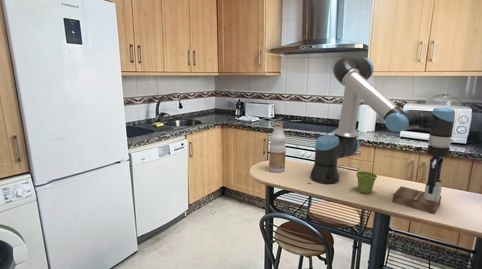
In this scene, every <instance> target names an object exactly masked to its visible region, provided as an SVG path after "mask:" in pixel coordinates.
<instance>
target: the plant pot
mask: <svg viewBox="0 0 482 269" xmlns="http://www.w3.org/2000/svg"><path fill="white" fill-rule="evenodd" d="M355 174H356V178H357V191H358V192H360V193H362V194H371V193H372V192H373V189H374V188H373V187H374V184H375V181H376V179H377V178H378V175H377V174H376V173H374V172H370V171H367V170H366V171H365V170H364V171H363V170H359V171H357V172H356V173H355Z"/></svg>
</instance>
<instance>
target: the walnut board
mask: <svg viewBox="0 0 482 269" xmlns="http://www.w3.org/2000/svg"><path fill="white" fill-rule="evenodd" d="M424 193H425V191H423V190H417V189H414V188H410V187H406V186H400V187H399V188H398V189H396V190H395V192H393V193H392V194H393V195H392V203H394V204H397V205H401V206H405V207H409V208H410V209H411V208H412V209H416V210H418V211H422V212H426V213H429V214H432V215H436V212H437V211H438V209H439V207H440V205H441V201H442V196H441V195H440V199H439V201H438V202H434V201H430V200H426V199H424Z"/></svg>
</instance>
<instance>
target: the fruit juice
mask: <svg viewBox="0 0 482 269" xmlns="http://www.w3.org/2000/svg"><path fill="white" fill-rule="evenodd" d="M283 126H284V124H283V123H280V122H274V124H273V127H274V129H273V132H272V134H270V137H269V140H270V141H269V142H270V144H269V153H268V154H269V155H268V156H269V158H268V170H269V171H270V172H271V171H272V173H276V174H277V173H284V172H285V170H286V153H287V151H286V150H287V149H286V140H287V138H286V135H285V133H284V129H283Z"/></svg>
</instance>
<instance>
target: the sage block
mask: <svg viewBox="0 0 482 269" xmlns="http://www.w3.org/2000/svg"><path fill="white" fill-rule="evenodd" d="M435 185H436V189H435V195H434V202H438V201H439V199H440V196H441V195H442V194H441V192H442V188H443V185H440V184H438V185H437V184H435ZM427 187H428V185H426V184H425V188H424V192H425V193H424V199H426V194H427Z"/></svg>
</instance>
